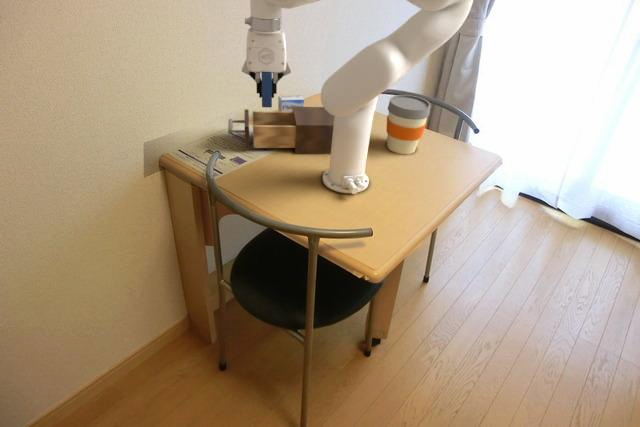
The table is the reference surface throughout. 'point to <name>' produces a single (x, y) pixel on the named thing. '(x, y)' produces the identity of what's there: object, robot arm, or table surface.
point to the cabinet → (313, 130)
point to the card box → (266, 89)
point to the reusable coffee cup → (406, 122)
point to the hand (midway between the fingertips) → (266, 95)
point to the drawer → (268, 129)
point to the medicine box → (289, 102)
